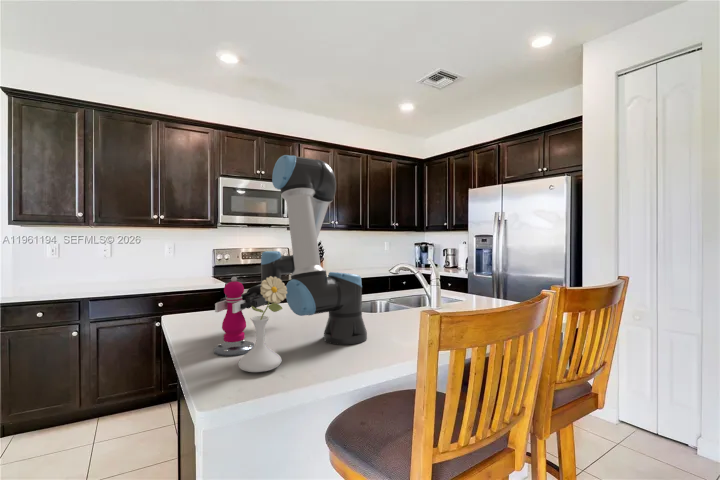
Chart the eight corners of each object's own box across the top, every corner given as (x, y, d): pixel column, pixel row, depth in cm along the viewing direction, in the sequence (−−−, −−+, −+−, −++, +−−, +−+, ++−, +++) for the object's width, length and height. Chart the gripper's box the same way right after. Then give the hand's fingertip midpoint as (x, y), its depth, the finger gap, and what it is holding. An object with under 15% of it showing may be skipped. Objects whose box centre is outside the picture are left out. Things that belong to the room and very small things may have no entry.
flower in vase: (240, 379, 89) (239, 280, 89) (236, 364, 100) (235, 275, 99) (291, 371, 94) (291, 277, 94) (283, 358, 105) (282, 273, 105)
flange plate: (260, 345, 117) (260, 340, 117) (242, 357, 106) (242, 352, 106) (227, 343, 119) (227, 338, 119) (205, 355, 108) (205, 349, 108)
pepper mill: (229, 335, 117) (229, 275, 117) (250, 336, 116) (250, 275, 115) (217, 342, 110) (217, 277, 109) (239, 343, 108) (238, 278, 108)
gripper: (283, 306, 129) (252, 322, 106) (237, 304, 132) (198, 319, 109) (283, 285, 129) (252, 296, 106) (237, 284, 132) (197, 294, 109)
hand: (225, 308), depth 107 cm, fingers closed on pepper mill, 5 cm apart
